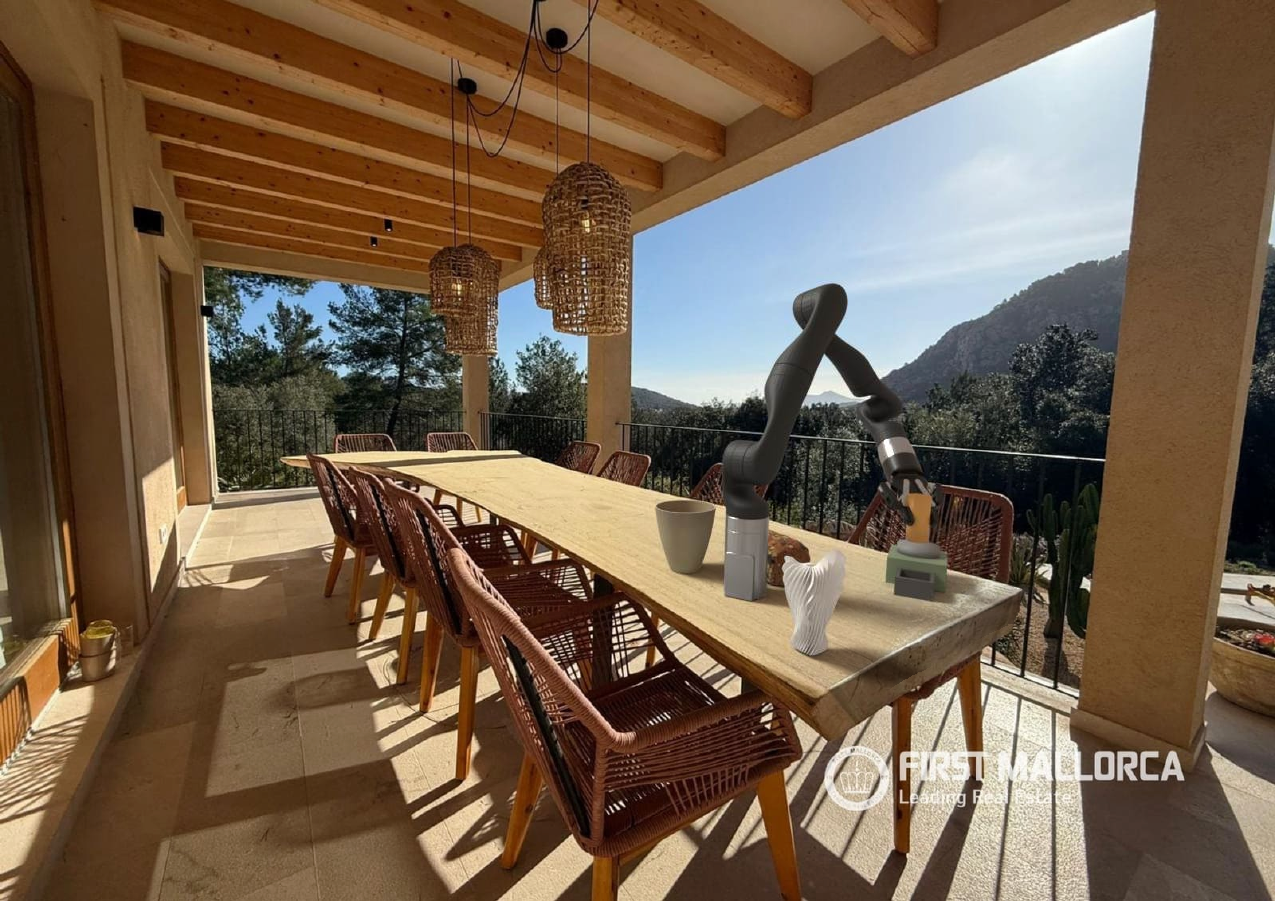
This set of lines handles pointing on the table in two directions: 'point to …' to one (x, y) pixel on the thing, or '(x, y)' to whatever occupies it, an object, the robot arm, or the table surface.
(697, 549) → the plant pot
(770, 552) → the bread
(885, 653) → the table surface
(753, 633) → the table surface
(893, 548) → the green two-tone box
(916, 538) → the amber pillar candle
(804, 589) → the white ribbed vase
